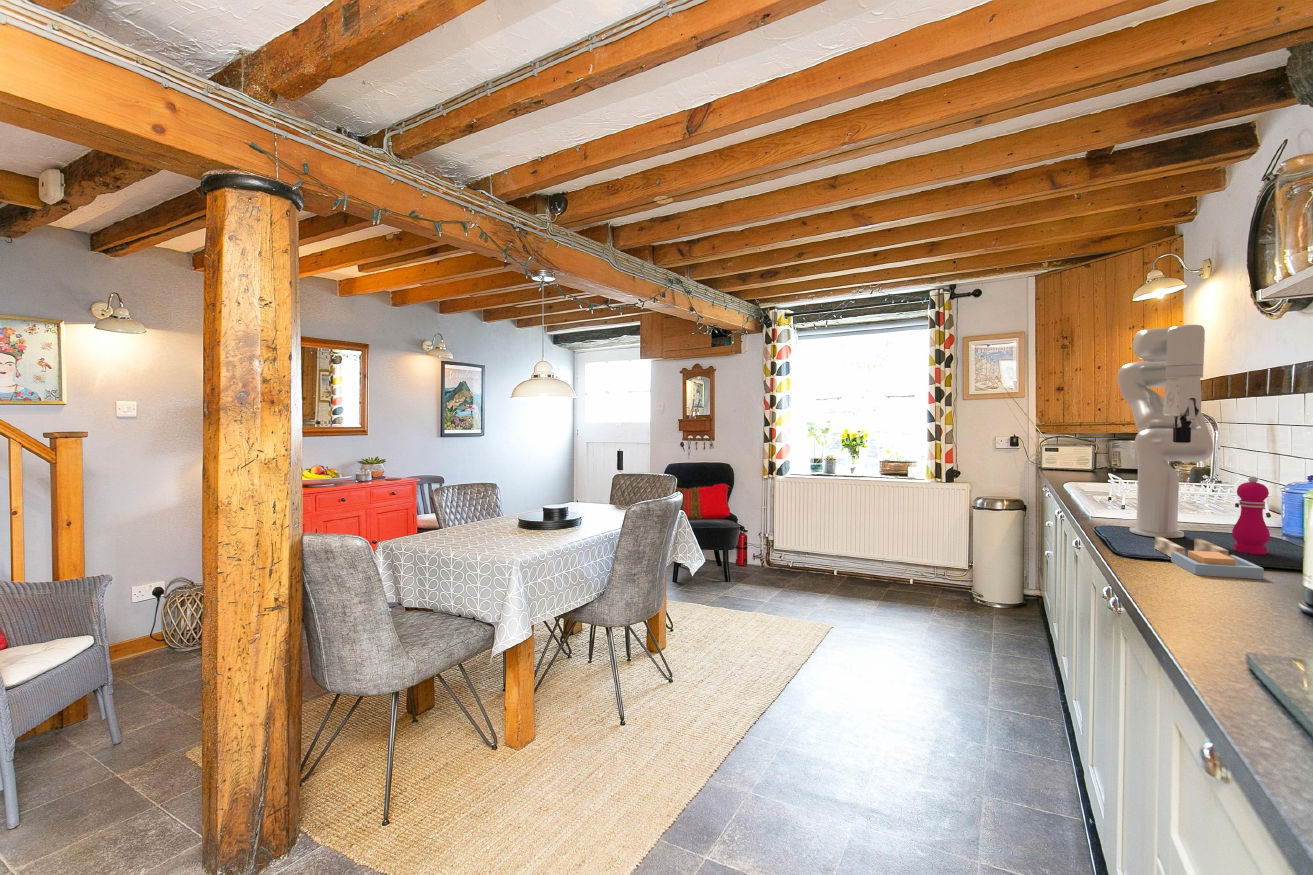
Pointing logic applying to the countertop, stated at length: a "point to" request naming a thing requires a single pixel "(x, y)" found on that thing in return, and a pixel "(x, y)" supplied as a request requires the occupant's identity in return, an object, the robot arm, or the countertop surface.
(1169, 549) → the pair of wooden slats
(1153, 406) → the robot arm
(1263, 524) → the pepper mill
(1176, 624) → the countertop surface
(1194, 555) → the block
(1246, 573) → the bay
